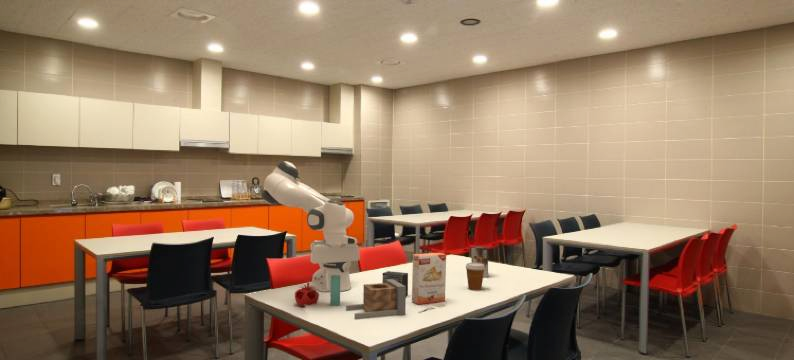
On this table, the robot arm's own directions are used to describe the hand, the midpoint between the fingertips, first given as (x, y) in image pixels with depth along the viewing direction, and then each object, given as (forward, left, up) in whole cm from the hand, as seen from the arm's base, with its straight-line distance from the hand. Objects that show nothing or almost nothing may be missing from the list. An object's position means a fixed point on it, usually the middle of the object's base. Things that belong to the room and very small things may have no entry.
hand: (335, 273), depth 201 cm
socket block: (+21, +4, -13) cm, 25 cm away
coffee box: (+14, +96, -14) cm, 98 cm away
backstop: (+18, 0, -14) cm, 23 cm away
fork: (+31, +21, -15) cm, 40 cm away
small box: (+6, +32, -15) cm, 36 cm away
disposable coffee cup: (+27, +68, -14) cm, 75 cm away
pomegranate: (-12, -5, -15) cm, 19 cm away
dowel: (0, 0, -14) cm, 14 cm away
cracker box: (+24, +33, -14) cm, 43 cm away
